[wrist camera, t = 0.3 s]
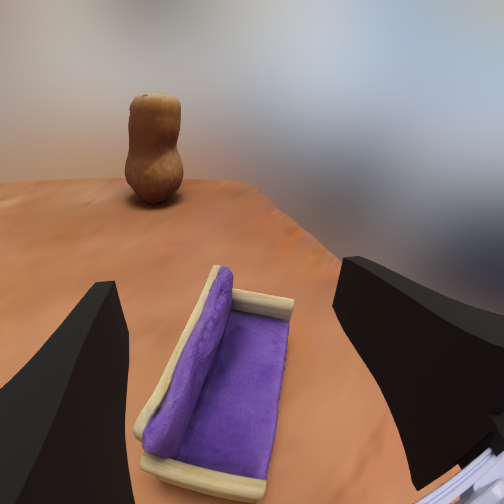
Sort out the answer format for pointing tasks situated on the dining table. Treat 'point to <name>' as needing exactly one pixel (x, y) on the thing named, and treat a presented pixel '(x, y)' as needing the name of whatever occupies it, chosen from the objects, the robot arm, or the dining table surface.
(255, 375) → the toy sofa
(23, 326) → the dining table surface
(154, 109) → the butternut squash
